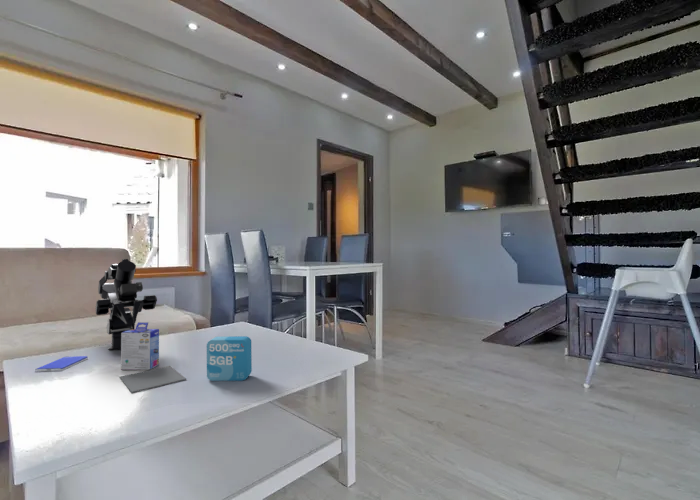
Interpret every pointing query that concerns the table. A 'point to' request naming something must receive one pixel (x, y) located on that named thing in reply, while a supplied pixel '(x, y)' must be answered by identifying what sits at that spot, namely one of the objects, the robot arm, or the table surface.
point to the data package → (229, 358)
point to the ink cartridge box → (140, 348)
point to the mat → (151, 379)
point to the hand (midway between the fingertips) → (131, 322)
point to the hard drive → (62, 363)
